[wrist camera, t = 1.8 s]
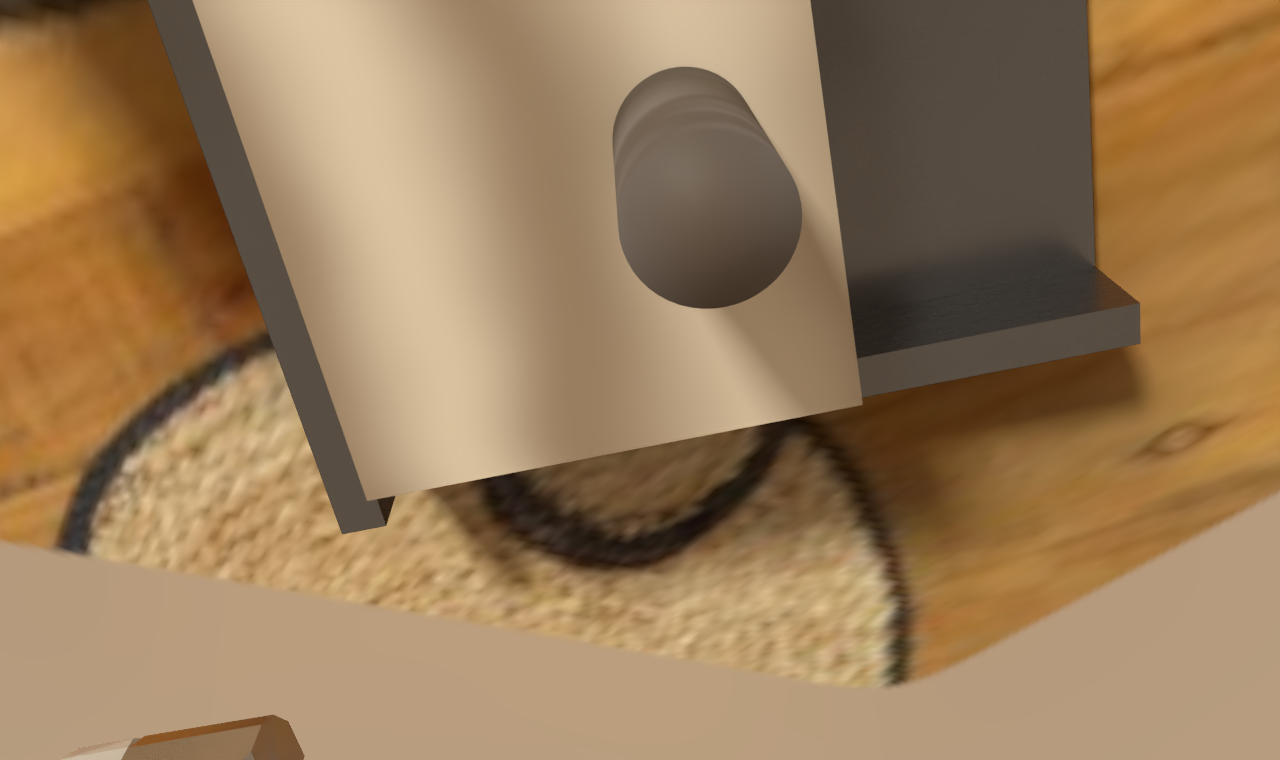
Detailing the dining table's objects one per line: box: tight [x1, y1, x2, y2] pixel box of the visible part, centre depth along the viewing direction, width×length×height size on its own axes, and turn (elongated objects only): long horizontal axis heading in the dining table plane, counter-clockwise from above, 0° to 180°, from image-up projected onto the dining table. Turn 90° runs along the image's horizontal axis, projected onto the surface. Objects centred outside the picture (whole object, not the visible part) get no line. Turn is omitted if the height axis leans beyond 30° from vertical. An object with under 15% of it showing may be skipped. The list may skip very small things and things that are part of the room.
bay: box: [147, 0, 1140, 534], centre depth 29 cm, size 22×18×6 cm
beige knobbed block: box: [193, 0, 863, 501], centre depth 25 cm, size 12×14×13 cm
